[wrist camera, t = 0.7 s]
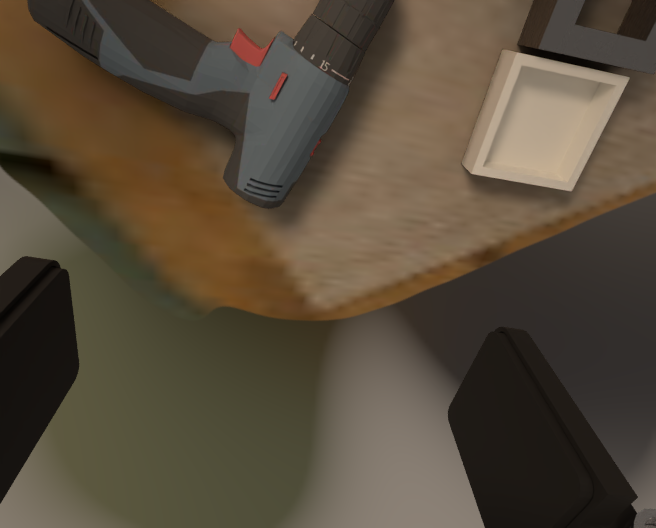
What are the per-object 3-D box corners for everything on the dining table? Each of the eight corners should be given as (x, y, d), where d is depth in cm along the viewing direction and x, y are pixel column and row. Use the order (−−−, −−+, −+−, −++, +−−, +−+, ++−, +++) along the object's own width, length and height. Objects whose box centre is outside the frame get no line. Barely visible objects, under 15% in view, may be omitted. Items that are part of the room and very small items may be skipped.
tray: (502, 48, 32) (517, 52, 30) (608, 72, 33) (630, 77, 31) (461, 163, 37) (471, 173, 35) (556, 180, 38) (571, 191, 36)
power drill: (130, -246, 24) (410, -18, 30) (46, 64, 32) (282, 194, 38) (90, -304, 19) (429, -22, 26) (3, 75, 27) (279, 220, 33)
